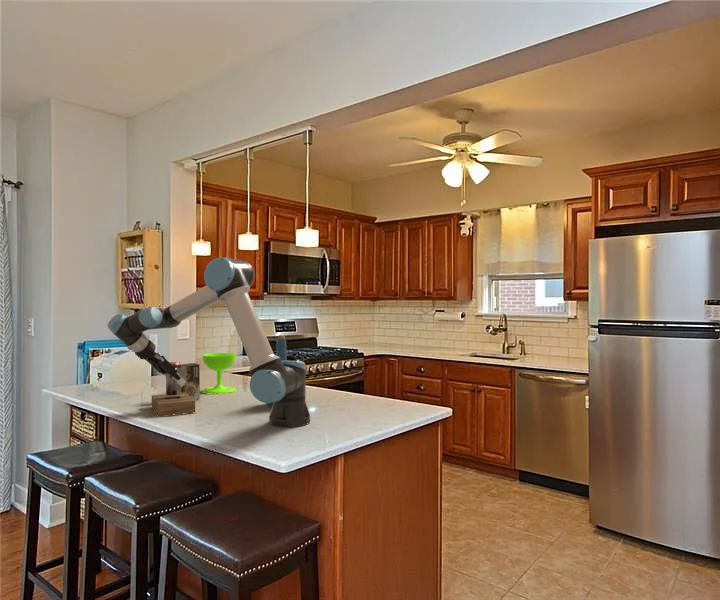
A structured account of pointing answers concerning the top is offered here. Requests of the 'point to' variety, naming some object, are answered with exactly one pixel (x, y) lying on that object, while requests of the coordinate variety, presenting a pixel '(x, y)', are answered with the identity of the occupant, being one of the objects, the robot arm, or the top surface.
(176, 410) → the walnut socket block
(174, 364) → the metal pin
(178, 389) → the coffee box
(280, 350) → the wine bottle
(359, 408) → the top surface
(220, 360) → the wineglass
